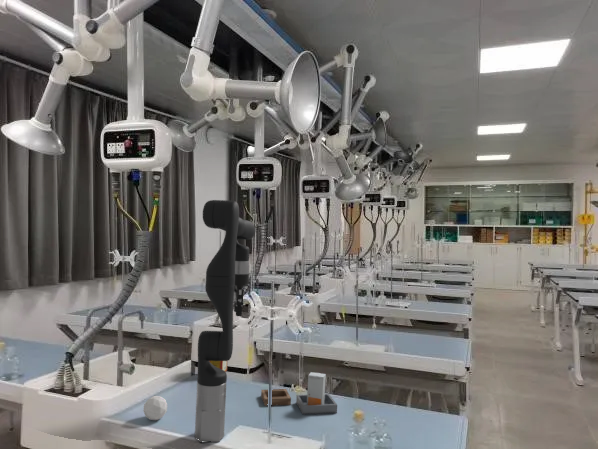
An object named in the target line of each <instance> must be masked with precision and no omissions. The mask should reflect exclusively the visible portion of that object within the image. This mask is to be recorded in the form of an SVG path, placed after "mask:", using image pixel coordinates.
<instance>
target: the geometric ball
mask: <svg viewBox="0 0 598 449" xmlns="http://www.w3.org/2000/svg"><path fill="white" fill-rule="evenodd" d="M142 411H143V413H144V416H145V417H146V418H147V419H149V420H150V421H159V419H160V420H161V419H162V418H163V417H164V416H165V415H166V413H167V412H168V403H167V400H166V399H165V398H164V397H162V396H160V395H153V396H151V397H149V398H148V399H147V400H146V402H145V403H143V410H142Z"/></svg>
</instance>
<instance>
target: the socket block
mask: <svg viewBox="0 0 598 449" xmlns="http://www.w3.org/2000/svg"><path fill="white" fill-rule="evenodd" d="M272 389H273V388H272ZM260 396H261V400H262V402H263V405H264V406H265V407H267V404H268V389H261V391H260ZM291 402H292V398H291V396H290V394H289V392H288V390H287V388H274V389H273V390H272V407H274V406H291V405H292V403H291Z"/></svg>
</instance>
